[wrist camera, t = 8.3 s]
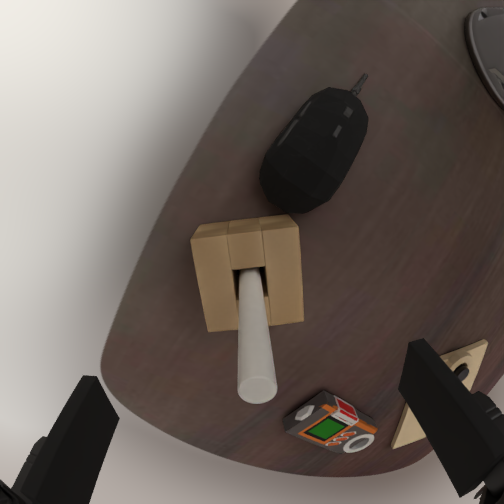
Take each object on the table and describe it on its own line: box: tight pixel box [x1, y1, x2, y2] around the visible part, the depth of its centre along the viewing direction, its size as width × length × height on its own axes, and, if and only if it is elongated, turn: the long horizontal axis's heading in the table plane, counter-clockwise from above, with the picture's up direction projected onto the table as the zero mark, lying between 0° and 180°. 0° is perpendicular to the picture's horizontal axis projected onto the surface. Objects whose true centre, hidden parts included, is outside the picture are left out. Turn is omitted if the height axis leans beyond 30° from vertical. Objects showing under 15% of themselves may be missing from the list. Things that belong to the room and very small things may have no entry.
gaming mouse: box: [259, 74, 368, 214], centre depth 21 cm, size 6×15×4 cm, turn 147°
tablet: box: [391, 339, 488, 449], centre depth 32 cm, size 13×20×2 cm, turn 7°
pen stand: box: [190, 214, 304, 332], centre depth 24 cm, size 8×8×5 cm
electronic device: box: [283, 390, 378, 454], centre depth 32 cm, size 7×3×15 cm
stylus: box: [238, 267, 277, 404], centre depth 18 cm, size 2×2×16 cm
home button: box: [453, 363, 469, 382], centre depth 29 cm, size 2×2×1 cm
